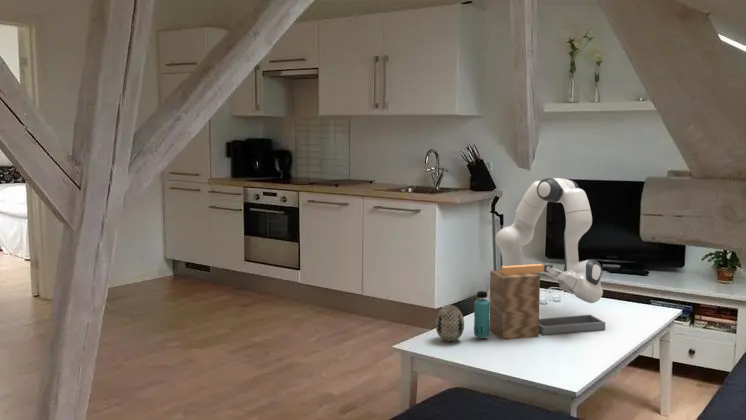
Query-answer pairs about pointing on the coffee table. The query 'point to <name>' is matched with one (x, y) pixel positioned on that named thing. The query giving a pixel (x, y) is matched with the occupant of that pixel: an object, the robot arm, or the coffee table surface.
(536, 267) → the marker
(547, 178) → the robot arm
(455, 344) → the coffee table surface
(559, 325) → the tray
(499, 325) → the stand
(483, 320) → the beverage bottle
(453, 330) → the decorative egg
